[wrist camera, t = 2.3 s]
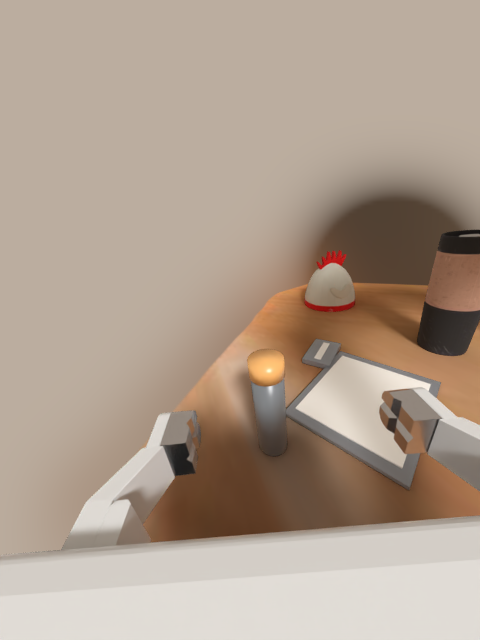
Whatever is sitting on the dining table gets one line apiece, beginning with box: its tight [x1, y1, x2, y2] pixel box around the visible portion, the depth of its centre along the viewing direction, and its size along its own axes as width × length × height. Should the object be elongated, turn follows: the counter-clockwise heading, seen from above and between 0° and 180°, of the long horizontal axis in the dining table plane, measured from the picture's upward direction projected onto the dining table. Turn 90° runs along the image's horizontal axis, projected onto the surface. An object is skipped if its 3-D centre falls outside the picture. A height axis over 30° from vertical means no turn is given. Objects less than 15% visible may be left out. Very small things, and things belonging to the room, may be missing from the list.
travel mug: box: [417, 230, 480, 356], centre depth 38 cm, size 8×8×20 cm
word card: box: [302, 339, 341, 369], centre depth 44 cm, size 8×5×1 cm, turn 145°
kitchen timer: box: [305, 250, 355, 312], centre depth 64 cm, size 14×14×15 cm
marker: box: [247, 349, 287, 456], centre depth 26 cm, size 4×4×13 cm
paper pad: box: [286, 351, 441, 490], centre depth 33 cm, size 19×15×1 cm
